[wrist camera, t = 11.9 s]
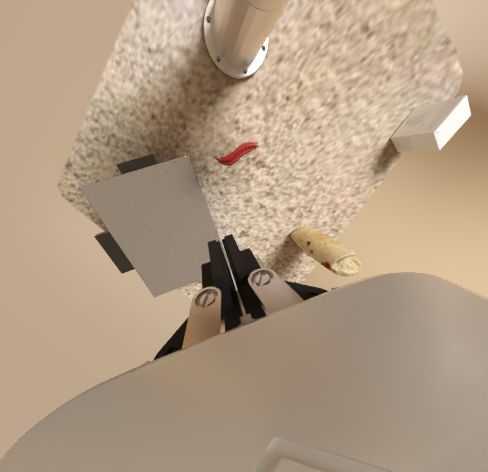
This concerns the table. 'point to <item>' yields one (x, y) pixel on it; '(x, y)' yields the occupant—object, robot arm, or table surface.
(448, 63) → the table surface
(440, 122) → the skincare box
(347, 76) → the table surface
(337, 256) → the food model
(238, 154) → the cayenne pepper
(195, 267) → the lid
